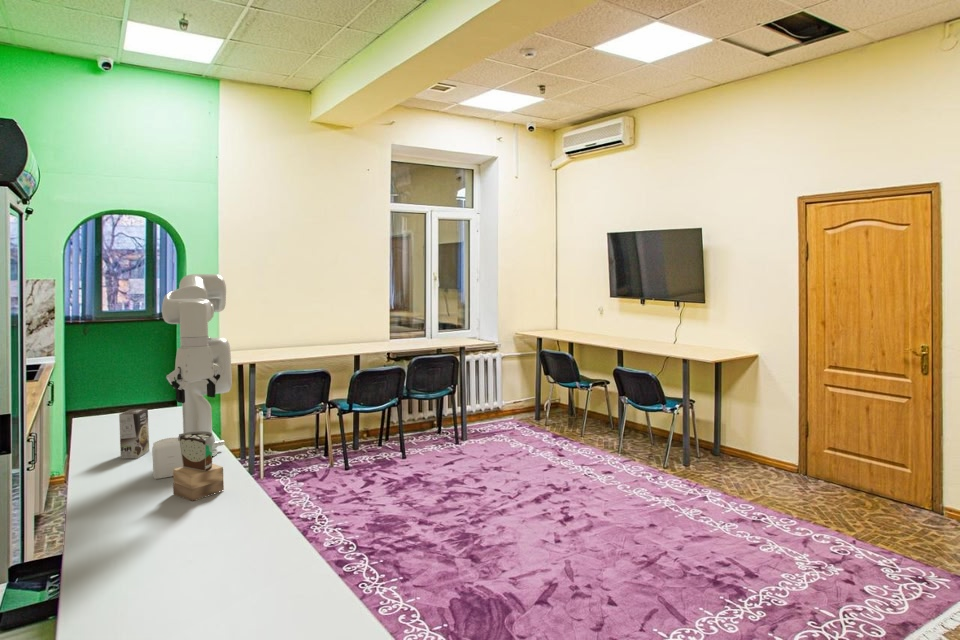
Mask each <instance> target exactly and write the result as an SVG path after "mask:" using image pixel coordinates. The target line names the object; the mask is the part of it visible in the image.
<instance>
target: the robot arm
mask: <svg viewBox="0 0 960 640" xmlns="http://www.w3.org/2000/svg"><path fill="white" fill-rule="evenodd" d="M178 286H179V287H178V288H177V289H174V290H171V291H170V292H168V293H166V294H165V295H164V297H163V299H162V306H161V316H162V319H163V321H164V322H165V323H167V324H168V325H169V324H170V325H179V336H180V337H179V338H180V339H179V342H180V347H178V348H177V350H176V353H175V354H176V356H175V361H174V362H175V365H174V370H172V372H169V374H166V380H167V381H168V384H169V385H170V386H171V387H173V389H174V390H175V399H176V402H177V403H179V404H181V409H182V429H183V430H182V433H187V432H195V431H207V432H211V433H212V434H213V420H212V419H213V417H212V416H213V415H212V412H213V411H212V410H213V409H212V405H211V403H210V401H208V399H206V397H204V396H207V397H208V398H216V394H226V393H229V392H230V391H231V390H232V387H233V376H232V375H233V374H232V355H231V347H230V343H229V341H228V339H226V338H225V337H211V336H209V325H208V323H209V322H210V321H211V320H212V319H213V318H214V315H215V313H220V312H222V311H224V309H225V308H226V305H227V284H226V281H225V279H224V278H223V276H222V275H219V274H218V273H217V274H215V273H214V274H213V273H212V274H211V273H204V274H201V273H199V274H198V273H196V274H195V273H193V274H188V275H187V274H186V275H185V276H183V277H182V278H181V279H180V281H179V285H178ZM225 444H226V441H225V440H224V439H221V440H215V442H214V443H213V449H212V456H213V457H215V456H217V455H218V449H217V448H218V447H223V446H224V445H225ZM216 454H217V455H216Z"/></svg>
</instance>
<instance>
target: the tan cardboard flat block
mask: <svg viewBox="0 0 960 640" xmlns="http://www.w3.org/2000/svg"><path fill="white" fill-rule="evenodd" d="M224 488H225V487H224V479H223V480H222V481H219V482H215V483H212V484H208V485H205V486H201V487H198V488H194V489H189V488H187V487H184V486H182V485H179V484H176V483H174V482H172V489H173V490H172V494H174V496H177V497H180V498H182V499H185V500H187V499H189V500H188V501H190V500H192V501H191V502H194V501H193V500H195V501H197V500H196V499H198V500H200V499H199V498H202V497H205V496H208V495H211V494H214V493H217V492H219V491H222V490H224V491H225V489H224ZM217 494H218V493H217ZM214 495H215V494H214ZM211 496H212V495H211ZM208 497H209V496H208ZM205 498H206V497H205ZM202 499H203V498H202Z"/></svg>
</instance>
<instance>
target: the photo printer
mask: <svg viewBox="0 0 960 640" xmlns="http://www.w3.org/2000/svg"><path fill="white" fill-rule="evenodd" d="M151 450H152V451H151V452H152V454H151V455H152V471H153V472H152V473H153V479H154V480H159V479H164V478H169V477H173V469H176V468H180V467H183V462H182V455H181V448H180V441H178V437H167V438H164V439H160V440H156V441H154V442H153V443H152V449H151Z"/></svg>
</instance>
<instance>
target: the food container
mask: <svg viewBox="0 0 960 640" xmlns="http://www.w3.org/2000/svg"><path fill="white" fill-rule="evenodd" d="M177 438H178V441H180V448H181V455H182V462H183V467H185V468H190V469H195V470H200V471H208V470H210V469H211V468H212V464H213V457H212V449H213V443H214V442H215V441H216V439H215V436H214V434H213V432H212V433H211V432H207V431H195V432H187V433H183V432H182V433H179V434H178V437H177Z"/></svg>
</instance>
